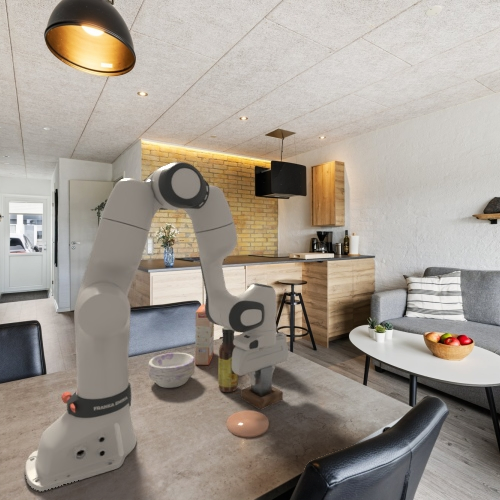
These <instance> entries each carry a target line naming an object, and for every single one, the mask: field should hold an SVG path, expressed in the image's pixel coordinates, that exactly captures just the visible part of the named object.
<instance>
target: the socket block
mask: <svg viewBox="0 0 500 500" xmlns="http://www.w3.org/2000/svg"><path fill="white" fill-rule="evenodd" d="M283 396H284V391H282V390H280V389H278V388H276V387H275V386H272V393H271V394H268V395H266V396H264V397H259V396H257V395H256V394H254V393H252V392H251V385H250V386H247V387H245V388H242V389H241V390H240V399H242V400H243V401H246V402H247V403H248V404H251V406H253V407H255V408H257V409H259V410H260V411H261V410H263V409H265V408H267V407H270V406H272V405H274V404H277V403H279V402H281V401H283V400H284V399H283V398H284V397H283Z"/></svg>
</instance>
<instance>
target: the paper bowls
mask: <svg viewBox="0 0 500 500" xmlns="http://www.w3.org/2000/svg"><path fill="white" fill-rule="evenodd" d="M147 365H148V378H149V379H150V380H152V381H153V382H155V384H156V385H157V386H159V387H162V388H167V389H171V388H177V387H180V386H183V385H184V384H186V383H187V382H188V380H189V379H190V378H191V377H192V376H193V375H195V371H196V370H195V366H196V365H195V357H194V356H193V355H192V354H190V353H186V352H170V353H169V352H167V353H163V354H159V355H156V356H154V357H151V359H149V361H148V364H147Z"/></svg>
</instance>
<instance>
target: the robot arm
mask: <svg viewBox="0 0 500 500" xmlns="http://www.w3.org/2000/svg"><path fill="white" fill-rule="evenodd" d="M159 210H161V211H165V210H171V211H178V210H183V211H184V212H185V213H187V215H188V216H189V218H190V220H191V224H192V229H193V232H194V236H195V239H196V243H197V249H198V257H199V259H198V260H199V266H200V270H201V271H200V272H201V276H202V280H203V286H204V292H205V304H204V305H205V313H206V316H207V318H208V320H209V321H210V322H212V323H213V324H214V325H216V326H220V327H222V328H224V327H225V328H227V329H230V330H233V331H235V332H236V333H240V334H238V335H237V336H235V337H234V340H233V344H234V345H235V346H236V347H235V348H234V350H233V353H232V371H233V372H234V373H235V374H237V375H238V376H241V377H242V376H245V375H248V377H249V383H250V386H251V385H256V384H258V382H257V381H258V379H257V378H255V377H254V374H255V371H257V370H260V369H262V368H265V367H269V366H272V374H273V373H274V371H275V369H276V365H278V364H281V363H284V362H286V361H287V360H288V358H289V349H288V342H287V334H286V333H285V332H283V331H279V332H277V323H276V316H277V313H278V312H277V311H278V305H277V294H276V291H275V288H274V287H273V286H271V285H268V284H262V283H251V284H250V285H249V286H248V288H247V289H246V290H244V291H243V292H242V293H239V294H238V295H232V294H231V293H230V291H228V289H227V288H226V282H225V277H224V276H225V275H224V271H223V263H224V260H225V259H226V258H227V257H229V256H230V255H231V254H232V253H233V252H234V250H235V249H236V247H237V244H238V233H237V229H236V225H235V220H234V217H233V214H232V211H231V208H230V205H229V202H228V201H227V198H226V196H225V193H224V192H223V190H222V189H221V188H220V187H218V186H216V185H211V184H209V182H208V181H206V179H205V178H204V177H203V175H202V173H201V172H200V171H199V169H197V168H196V167H195V166H194V165H192V164H191V163H188V162H183V161H175V162H171V163H169V164H167V165H163V166H161V167H159V168H157V169H156V170H155V171H153V172H151V173H150V174H149V175H148V176H146V178H145V179H143V180H141V179H137V178H133V177H129V178H122V179H120V180H118V181H117V182H116V183H115V185H114V186H113V188H112V190H111V192H110V194H109V195H108V198H107V200H106V203H105V205H104V208H103V210H102V214H101V216H100V220H99V222H98V227H97V229H96V232H95V233H96V234H95V236H94V241H93V243H92V247H91V250H90V254H89V258H88V261H87V263H86V265H85V266H86V267H85V271H84V273H83V276H82V281H81V284H80V287H79V290H78V293H77V296H76V301H75V305H74V310H73V311H74V313H73V317H74V318H73V320H74V321H73V322H74V340H75V341H74V342H75V357H76V358H75V360H76V362H75V363H76V390H75V392H73V394H72V393H71V392H70V391H64V392H63V393H62V394H61V397H60V398H61V400H62V403H63V404H66V411H65V412H64V413H63V414H62V415H60V416H59V417H58V418H57V419H55V421H54V422H53V423H52V424H50V425H49V426H48V427H46V429H45V430H44V431H43V432H42V434H41V437H40V439H39V443H38V447H37V450H35V451H34V450H33V452H31V453H30V455H29V456H28V458H27V460H26V462H25V466H24V467H25V468H24V475H26V476H25V479H27V480H26V482H27V484H28V485H29V487H30V486H31V487H30V488H32V489H33V488H34V489H33V490H35V489H36V490H35V491H37V490H39V491H38V492H41V491H42V492H45V491H44V490H46V491H49V490H52V489H51V488H53V489H55V487H56V488H58V486H59V487H62V486H64V485H63V484H66V485H68V484H67V483H69V484H71V482H72V483H75V482H78V480H79V481H82V480H85V479H88V478H92V477H95V476H97V475H101V474H104V473H107V472H110V471H113V470H117V469H119V468H121V467H122V465H123V464H124V462H125V459H126V457H127V456H128V455H129V454H130V453H132V452H133V450H134V448H136V446H137V442H138V441H137V435H136V433H135V429H134V426H133V421H132V414H131V404H132V387H131V383H130V381H129V380H130V379H129V378H130V374H129V373H130V371H129V370H130V369H129V368H130V367H129V347H130V346H129V345H130V334H131V333H130V331H131V329H130V328H131V303H130V300H129V297H128V296H129V292H130V290H131V287H132V284H133V281H134V279H135V276H136V274H137V271H138V269H139V266H140V265H141V263H142V259H143V255H144V253H145V248H146V244H147V241H148V238H149V234H150V229H151V225H152V222H153V219H154V217H155V215H156V213H157V212H158V211H159ZM235 332H234V333H235ZM74 481H75V482H74ZM61 485H62V486H61ZM48 489H49V490H48Z"/></svg>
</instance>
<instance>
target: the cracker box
mask: <svg viewBox="0 0 500 500" xmlns="http://www.w3.org/2000/svg"><path fill="white" fill-rule="evenodd" d="M194 331H195V336H194V337H195V338H194V339H195V342H194V343H195V346H194V347H195V350H194V352H195V353H194V356H195V357H194V359H195V362H194V363H195V364H194V365H195V366H210V363H211V361H212V359H213V354H214V348H215V347H214V346H215V345H214V342H215V339H214V337H215V324H213V323H212V322H210V321H209V320H208V318H207V316H206V313H205V304H201V305H199V307H198V308H197V310H195V330H194Z"/></svg>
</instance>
